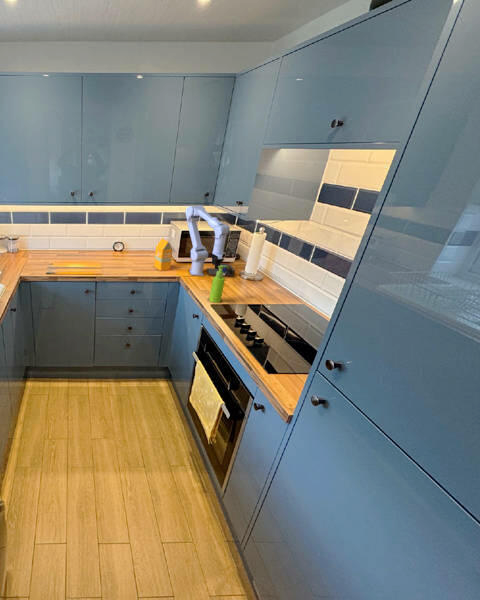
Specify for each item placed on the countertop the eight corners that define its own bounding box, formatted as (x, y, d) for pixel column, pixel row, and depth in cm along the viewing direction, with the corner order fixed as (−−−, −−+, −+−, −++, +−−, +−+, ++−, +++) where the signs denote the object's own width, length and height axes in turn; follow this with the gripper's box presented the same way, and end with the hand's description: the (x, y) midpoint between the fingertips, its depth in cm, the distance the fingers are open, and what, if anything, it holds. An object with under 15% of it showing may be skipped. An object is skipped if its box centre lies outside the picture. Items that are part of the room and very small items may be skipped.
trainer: (220, 269, 218) (221, 263, 217) (227, 270, 216) (229, 264, 214) (216, 274, 210) (218, 268, 208) (224, 275, 208) (225, 269, 206)
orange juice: (163, 265, 230) (166, 237, 221) (170, 269, 222) (173, 241, 214) (153, 266, 228) (156, 238, 219) (160, 270, 220) (163, 242, 212)
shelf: (206, 270, 221) (207, 263, 219) (229, 271, 219) (230, 264, 217) (209, 275, 211) (210, 269, 209) (233, 277, 209) (235, 270, 207)
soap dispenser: (224, 301, 177) (231, 266, 168) (213, 303, 175) (220, 268, 166) (217, 297, 182) (224, 263, 173) (206, 298, 180) (213, 264, 172)
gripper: (229, 248, 187) (224, 271, 193) (223, 242, 200) (219, 263, 205) (216, 248, 188) (212, 270, 194) (211, 241, 201) (207, 262, 207)
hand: (215, 266), depth 200 cm, fingers open, 7 cm apart
